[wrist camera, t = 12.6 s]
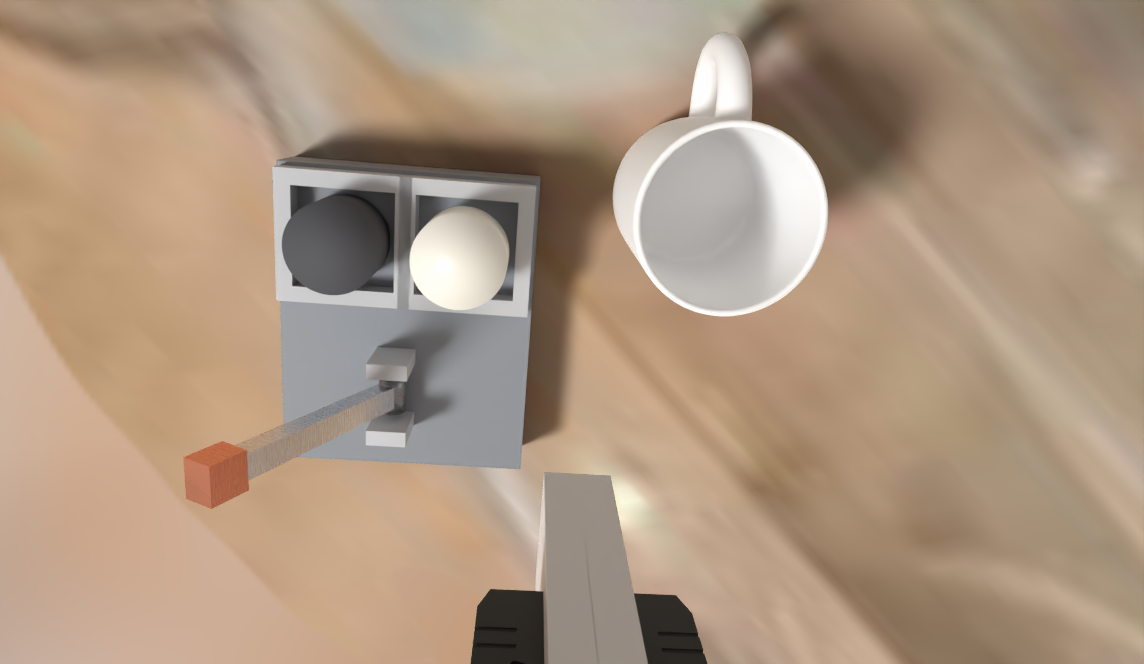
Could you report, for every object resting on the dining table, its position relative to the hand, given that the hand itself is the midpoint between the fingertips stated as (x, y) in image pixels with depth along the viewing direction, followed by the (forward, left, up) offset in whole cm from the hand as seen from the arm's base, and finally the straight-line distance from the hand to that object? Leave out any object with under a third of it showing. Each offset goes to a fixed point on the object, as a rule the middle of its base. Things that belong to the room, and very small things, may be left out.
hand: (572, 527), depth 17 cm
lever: (+6, -8, -22) cm, 25 cm away
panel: (+2, -8, -26) cm, 28 cm away
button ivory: (-2, -4, -22) cm, 22 cm away
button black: (-2, -11, -23) cm, 25 cm away
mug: (-7, +7, -27) cm, 28 cm away
